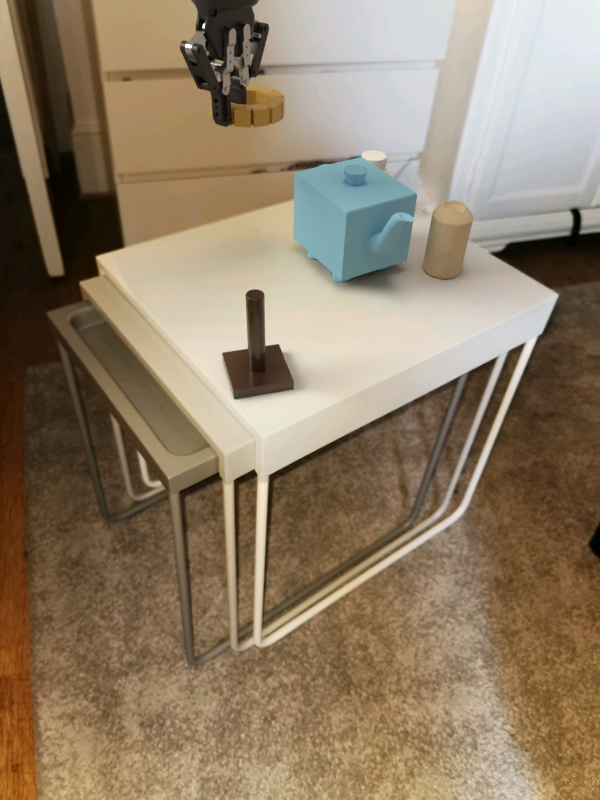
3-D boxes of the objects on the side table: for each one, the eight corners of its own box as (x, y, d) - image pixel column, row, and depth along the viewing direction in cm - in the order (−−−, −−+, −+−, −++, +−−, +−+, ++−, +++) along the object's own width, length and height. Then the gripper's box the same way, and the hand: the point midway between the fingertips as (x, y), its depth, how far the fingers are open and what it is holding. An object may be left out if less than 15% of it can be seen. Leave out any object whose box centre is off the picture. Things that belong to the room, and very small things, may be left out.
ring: (226, 131, 76) (225, 114, 75) (200, 106, 82) (199, 89, 81) (296, 121, 79) (296, 104, 78) (266, 98, 85) (266, 81, 84)
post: (233, 399, 72) (228, 318, 64) (222, 360, 77) (216, 280, 69) (293, 388, 73) (295, 308, 65) (278, 351, 78) (279, 272, 70)
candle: (449, 283, 90) (464, 218, 83) (415, 270, 92) (426, 205, 85) (467, 267, 93) (482, 203, 86) (434, 254, 95) (446, 191, 88)
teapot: (284, 239, 97) (284, 150, 88) (344, 223, 102) (351, 135, 92) (365, 315, 84) (377, 219, 74) (432, 292, 88) (451, 198, 79)
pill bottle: (369, 219, 103) (374, 165, 97) (346, 207, 106) (350, 154, 99) (391, 209, 105) (398, 156, 99) (367, 197, 108) (373, 145, 102)
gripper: (236, -61, 72) (241, 100, 84) (149, -46, 64) (168, 130, 75) (290, -53, 69) (287, 113, 81) (207, -36, 61) (217, 146, 73)
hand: (230, 121), depth 78 cm, fingers closed on ring, 2 cm apart
